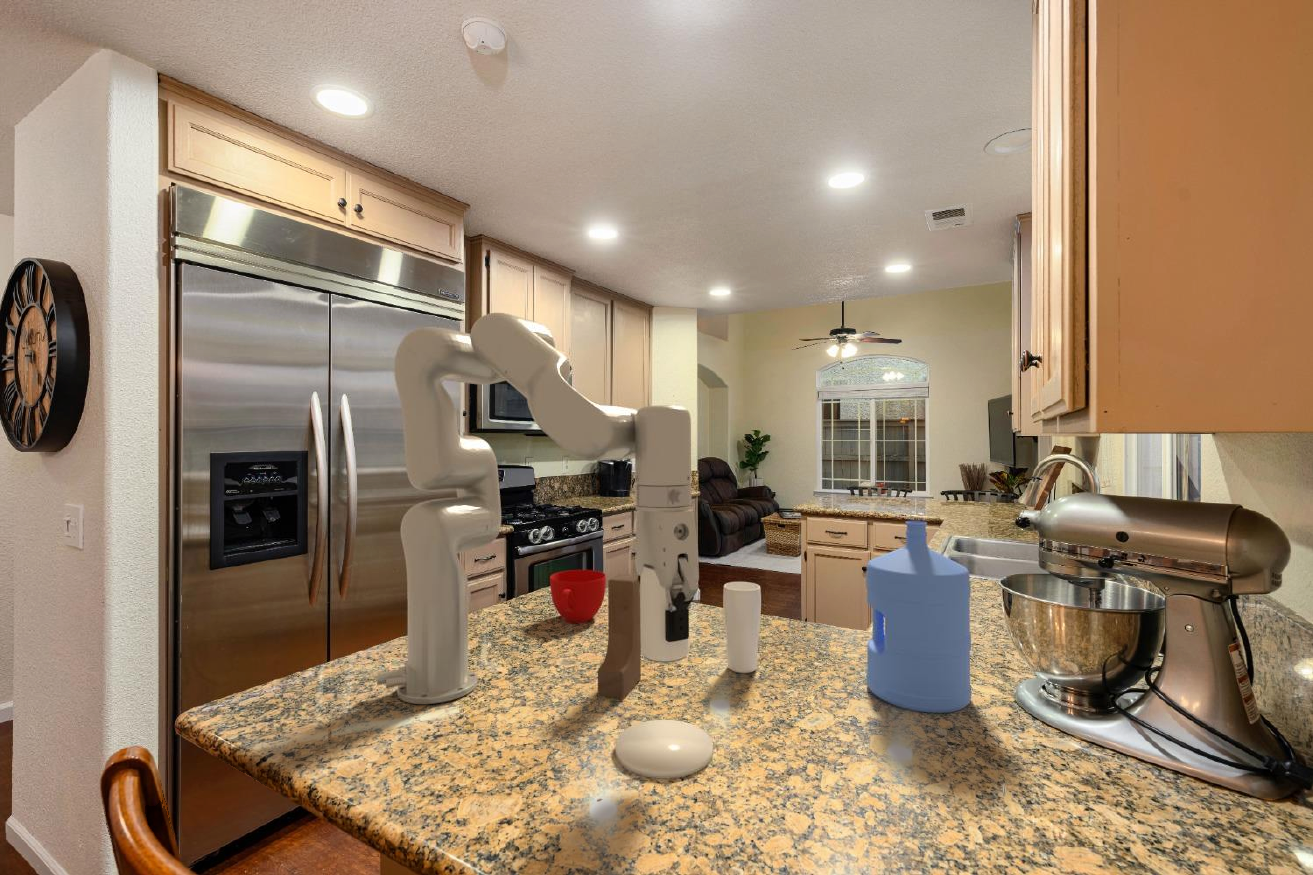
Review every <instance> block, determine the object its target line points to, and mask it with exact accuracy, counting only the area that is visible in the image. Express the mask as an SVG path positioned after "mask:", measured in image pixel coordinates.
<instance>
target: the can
mask: <svg viewBox="0 0 1313 875" xmlns="http://www.w3.org/2000/svg"><path fill="white" fill-rule="evenodd" d="M643 566H644V569H643V571H642V574H641V577H640V627H641V656H643V657H644V658H645V659H646V660H648V661H652V662H656V663H674V662H679V661H681V660H684V659H685V658H686V657H687V656H688V655H689V653H690V637H689V638H688V639H685V640H680V641H674V642H668V641H666V639H665V610H669V608H668V604H667V598H666V588H664V587H662V586H661V585H660V583H659V580H658V578H657V576H656V573H655V568H649V567H646V566H645V565H643ZM673 583H674V584H673V585H676V584H682V580H681V578H676V579H673ZM679 592H682V589H679V590H673V593H674V598H676V596H677V594H678V593H679Z"/></svg>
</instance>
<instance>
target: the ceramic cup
mask: <svg viewBox="0 0 1313 875" xmlns="http://www.w3.org/2000/svg"><path fill="white" fill-rule="evenodd" d="M549 583H550V584H549V585H550V592H551V594H550V595H551V599H552V603H553V606H554V608H555V610H556V612H558V614H559V615H560V616H561V618H563V620H564V621H565V622H567V623H575V624H576V623H577V624H578V623H579V624H580V623H586V622H590V621H591V620H593V618H594V616H596V615H597V613H598V612H599V611H600V608H601V607H602V605H603V604H604V599H605V594H606V585H607V575H606V573H604V572H603V571H598V570H593V569H575V570H574V569H573V570H572V569H571V570H564V571H558V572H555V573H553V574H552V575H550V577H549Z"/></svg>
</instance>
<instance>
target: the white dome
mask: <svg viewBox="0 0 1313 875" xmlns="http://www.w3.org/2000/svg"><path fill="white" fill-rule="evenodd" d="M713 755H714V744H713V740H712V738H711V735H709V733H708V732H707V731H706V730H704V729H702V728H701V727H699V726H697V725H695V724H692V723H689V722H686V721H685V722H684V721H681V720H674V719H654V720H653V719H652V720H647V721H641V722H638V723H636V724H634V725H631V726H629V727H627V728H626V729H624V730H623V731H621V733H619V735H618V736H617V738H616V741H615V757H616V760H617V761H618V763H619V764H620V765H621V766H622V767H623V768H625V769H626V770H628V771H629V772H631V773H634V774H636V775H639V776H643V777H646V778H653V779H677V778H682V777H686V776H687V777H688V776H689V775H690V776H691V775H692V774H693V775H694V774H695V773H697V772H699V771H701V770H703V769H705V768H706V767H707V766H708V765H709V763H710V762H711V761H712V759H713Z"/></svg>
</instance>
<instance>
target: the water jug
mask: <svg viewBox="0 0 1313 875" xmlns="http://www.w3.org/2000/svg"><path fill="white" fill-rule="evenodd" d="M905 525H906V531H905V536H906V537H905V538H906V539H905V540H906V541H905V545H903V547H900V548H898V549H895V550H893V551H890V552H888V553H887V552H886V553H885V554H882V555H880V556H878V557H874V558H872V559H870V560H869V561H868V562H867V564H866V574H865V584H866V603H867V604H868V606H870V607H871V609H872V637H871V638H870V639H869V640H868V642H867V645H866V649H867V651H866V652H867V657H866V659H867V662H866V663H867V666H866V667H867V668H866V672H865V673H866V675H865V676H866V684H867V687H868V689H869V690H870V692H871V693H872V694H873V695H875V696H876V697H877V698H879V699H880V700H882V701H884V702H886V703H888V704H890V705H893V706H896V707H898V708H901V709H906V710H910V711H915V712H920V713H927V714H928V713H929V714H930V713H931V714H946V713H954V712H957V711H960V710H962V709H964V708H966V707H967V706H968V705H969V704H970V702H971V701H972V684H971V649H972V648H971V647H972V636H971V629H970V628H971V622H970V621H971V615H970V613H971V610H970V606H971V602H970V601H971V600H970V599H971V593H972V590H971V587H972V586H971V581H970V571H969V568H967V567H965V566H964V565H962V564H960V563H958V562H956V561H955V560H952V559H950V558H948V557H947V556H944V555H942V554H940V553H939V552H936V551H934V550H933V549H931V548H930V547H929V546H928V544H927V537H928V532H927V528H926V527H927V525H928V522H926V521H922V520H907V521H905Z"/></svg>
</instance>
